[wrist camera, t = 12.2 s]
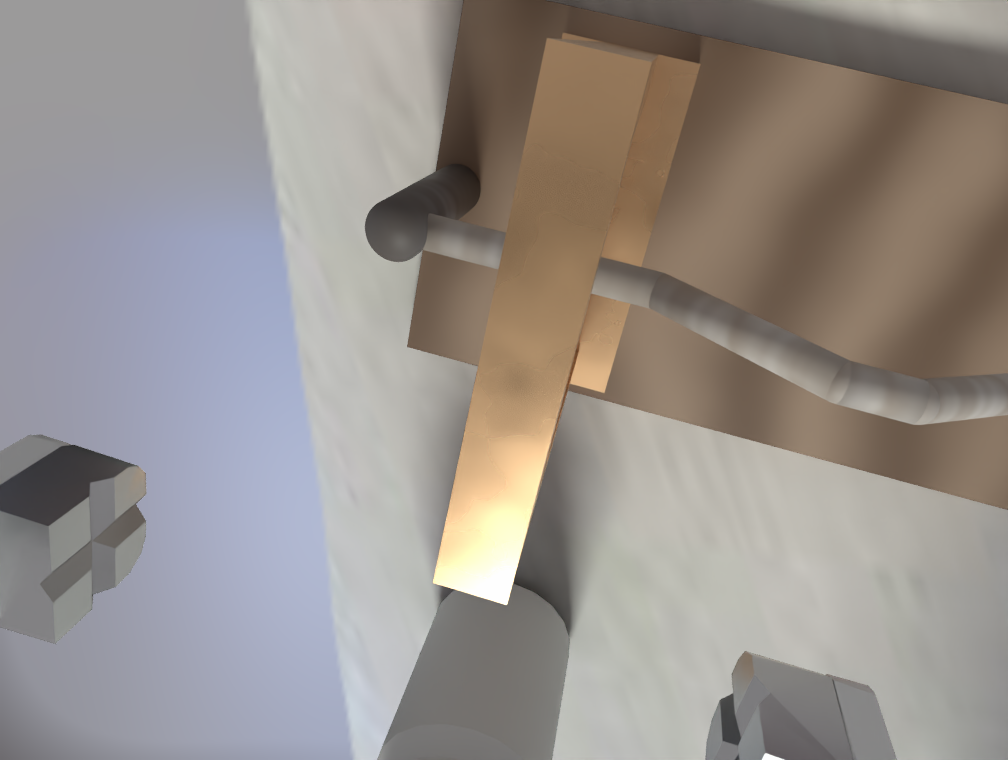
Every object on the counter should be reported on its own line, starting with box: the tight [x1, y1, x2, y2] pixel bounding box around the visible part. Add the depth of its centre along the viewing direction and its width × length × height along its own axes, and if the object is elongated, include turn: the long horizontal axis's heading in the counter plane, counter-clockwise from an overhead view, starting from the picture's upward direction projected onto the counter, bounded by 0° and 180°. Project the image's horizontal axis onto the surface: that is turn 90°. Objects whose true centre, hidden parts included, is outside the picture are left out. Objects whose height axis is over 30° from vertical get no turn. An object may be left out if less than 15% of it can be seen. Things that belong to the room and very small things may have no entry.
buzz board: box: [365, 0, 1008, 510], centre depth 26 cm, size 31×15×13 cm, turn 78°
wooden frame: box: [433, 33, 701, 605], centre depth 24 cm, size 5×13×16 cm, turn 168°
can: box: [377, 584, 570, 760], centre depth 37 cm, size 8×8×12 cm
